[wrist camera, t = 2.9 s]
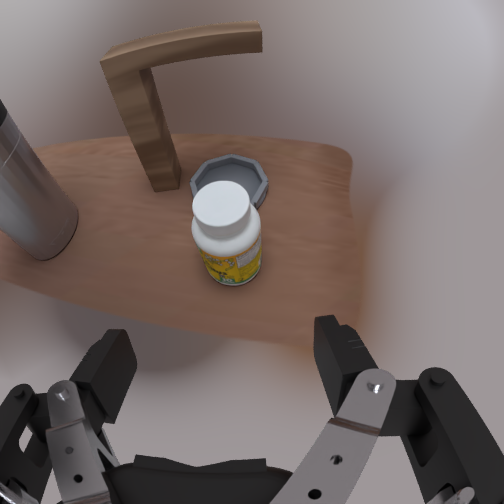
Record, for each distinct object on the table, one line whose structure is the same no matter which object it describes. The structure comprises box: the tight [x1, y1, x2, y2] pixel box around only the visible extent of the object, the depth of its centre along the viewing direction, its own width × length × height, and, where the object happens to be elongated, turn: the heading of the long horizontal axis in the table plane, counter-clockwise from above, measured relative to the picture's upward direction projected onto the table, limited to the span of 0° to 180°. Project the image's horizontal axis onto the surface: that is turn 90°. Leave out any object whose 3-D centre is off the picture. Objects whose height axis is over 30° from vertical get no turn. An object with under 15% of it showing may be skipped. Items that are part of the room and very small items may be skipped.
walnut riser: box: [100, 21, 262, 192], centre depth 25 cm, size 4×13×18 cm, turn 95°
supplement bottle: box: [192, 181, 262, 286], centre depth 23 cm, size 5×5×10 cm
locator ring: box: [189, 154, 268, 209], centre depth 31 cm, size 8×8×2 cm
